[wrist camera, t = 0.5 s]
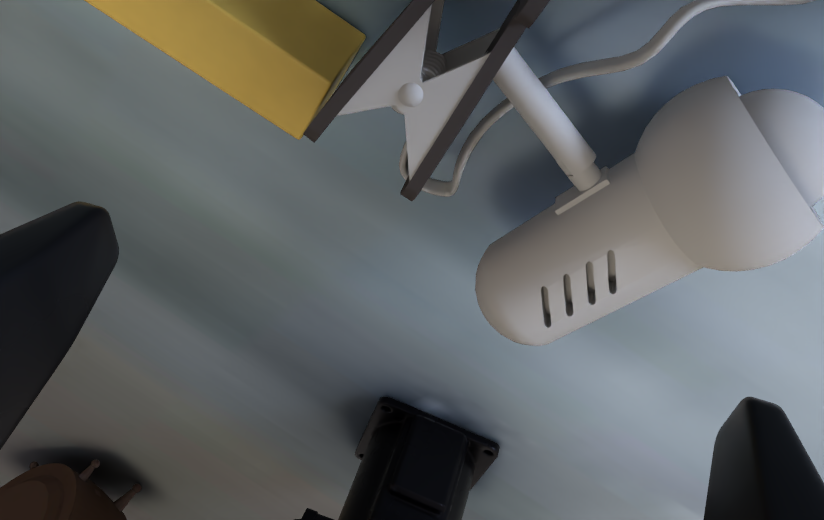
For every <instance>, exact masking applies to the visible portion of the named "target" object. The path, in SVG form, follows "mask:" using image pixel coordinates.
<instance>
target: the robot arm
mask: <svg viewBox="0 0 824 520" xmlns="http://www.w3.org/2000/svg"><path fill="white" fill-rule="evenodd" d="M118 255H119V246H118V242H117V239H116V235H115V232H114V228H113V225H112V221H111V218H110V215H109V213H108V211H107V210H106V209H105V208H103V207H100V206H96V205H93V204H90V203H86V202H74V203H71V204H69V205H67V206H65V207H62V208H60V209H58V210H55V211H53V212H51V213H48V214H46V215H44V216H42V217H39V218H37V219H35V220H32V221H30V222H28V223H26V224H23V225H21V226H19V227H16V228H14V229H12V230H10V231H7V232H5V233H3V234H0V449H1V448H2V447H3V445H4V444H5V442H6V441H7V439H8V438H9V436H10V435H11V434H12V432H13V431H14V429H15V428H16V426H17V425H18V423H19V422H20V421H21V419H22V418H23V416H24V415H25V413H26V412H27V410H28V409H29V407H30V406H31V405H32V403H33V402H34V400H35V399H36V397H37V396H38V394H39V393H40V392H41V390H42V389H43V387H44V386H45V384H46V383H47V381H48V380H49V379H50V377H51V376H52V374H53V373H54V371H55V370H56V368H57V367H58V365H59V364H60V363H61V361H62V360H63V358H64V357H65V355H66V353H67V352H68V350H69V349H70V347H71V346H72V344H73V342H74V340H75V339H76V337H77V335H78V333H79V332H80V330H81V328H82V326H83V324H84V322H85V320H86V319H87V317H88V315H89V313H90V311H91V309H92V307H93V306H94V304H95V302H96V300H97V298H98V296H99V294H100V293H101V291H102V289H103V287H104V285H105V283H106V281H107V280H108V278H109V276H110V274H111V272H112V270H113V268H114V267H115V265H116V262H117V259H118ZM499 449H500V447H499V445H498V444H497V443H495V442H493V441H491V440H489V439H486V438H484V437H482V436H479V435H477V434H475V433H472V432H470V431H467V430H465V429H463V428H460V427H458V426H456V425H453V424H451V423H449V422H446V421H444V420H442V419H439V418H437V417H435V416H432V415H430V414H428V413H425V412H423V411H421V410H418V409H416V408H414V407H411V406H409V405H407V404H404V403H402V402H400V401H397V400H395V399H393V398H390V397H381V398H380V399H379V401H378V403H377V406H376V408H375V410H374V412H373V414H372V416H371V419H370V421H369V423H368V425H367V427H366V429H365V431H364V434H363V436H362V438H361V440H360V442H359V444H358V446H357V449H356V451H355V456H356V457H357V458H358V459H360V460H362V461H361V463H360V466H359V468H358V471H357V473H356V476H355V479H354V481H353V484H352V486H351V489H350V491H349V494H348V496H347V499H346V501H345V504H344V506H343V509H342V511H341V514H340V516H339V519H338V520H462V516H463V513H464V509H465V505H466V502H467V498H468V494H469V491H470V490H471V489H472V487H473V486H474V485H475V484H476V482H477V481H478V480H479V479H480V477H481V476H482V475H483V474H484V473H485V471H486V470H487V469H488V468H489V466H490V465H491V464H492V463H493V461H494V460H495V459H496V458H497V456H498V453H499ZM295 520H334V519H331V518H328V517H325V516H322V515H320V514H318V512H317V511H314V510H312V509H309V508H307V509H306V511H305V513H304V515H303V517H302V519H295ZM704 520H824V483H823V481H822V479H821V477H820V475H819V474H818V472H817V470H816V468H815V466H814V464H813V463H812V461H811V459H810V457H809V455H808V454H807V452H806V450H805V448H804V446H803V445H802V443H801V441H800V439H799V437H798V436H797V434H796V432H795V430H794V428H793V427H792V425H791V423H790V421H789V419H788V418H787V416H786V414H785V412H784V411H783V410H782V408H781V407H779V406H778V405H776V404H774V403H771V402H767V401H764V400H760V399H757V398H754V397H746V398H744V399H743V400H742V401H741V402H740V403H739V404H738V406H737V407H736V408H735V410H734V411H733V412H732V414H731V415H730V416H729V418H728V419H727V420H726V422H725V423H724V424H723V426H722V427H721V429H720V430H719V432H718V434H717V437H716V441H715V445H714V451H713V458H712V465H711V472H710V479H709V486H708V493H707V500H706V507H705V514H704Z"/></svg>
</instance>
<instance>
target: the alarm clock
mask: <svg viewBox="0 0 824 520" xmlns="http://www.w3.org/2000/svg"><path fill="white" fill-rule="evenodd" d="M99 465H100V462H99V460H96V459H95V460H93V461H92V462H91V465H90V466H89V467H88V468H87V469H85V470H84V471H83V472H82V473H81V474H79V473H77V472H75V471H74V470H72V469H71V468H69V467H68V466H66V465H64V464H60V463H51V464H45V465H42V466H39V464H38V463H37V462H32V463H31V464H30V468H31V469H30V470H29V471H27V472H25V473H23V474H21V475H19V476H18V477H16V478H14V479H13V480H11V481H10V482H8V483H7V484H5V485H4V486H2V487H1V488H0V520H127V519H126V517H125V515H124V513H123V512H122V510H123V509H124V508H125V506H126V505H127V504H128V502H129V501H130V500H131V499H132V497H133V496H134V495H135V493H138V492H140V490H141V485H140V484H135V485H133V487H132V489H131V490H130V491H129V492H127V493H126V494H124V495H123V496H122V497H120V498H119V499H118V500H116V501H115V502H113V501H112V500H111V499H110V498H109V497H108V496H107V495H106V494H105V493H104V491H103V490H102V489H100V488H99V487H98V486H97V485H96V484H94V483H93V482H92V481H91V480H89V479H88V478H89V476H90V475H91V473H92V472H93V470H94V469H95V468H97V467H99ZM38 466H39V467H38Z"/></svg>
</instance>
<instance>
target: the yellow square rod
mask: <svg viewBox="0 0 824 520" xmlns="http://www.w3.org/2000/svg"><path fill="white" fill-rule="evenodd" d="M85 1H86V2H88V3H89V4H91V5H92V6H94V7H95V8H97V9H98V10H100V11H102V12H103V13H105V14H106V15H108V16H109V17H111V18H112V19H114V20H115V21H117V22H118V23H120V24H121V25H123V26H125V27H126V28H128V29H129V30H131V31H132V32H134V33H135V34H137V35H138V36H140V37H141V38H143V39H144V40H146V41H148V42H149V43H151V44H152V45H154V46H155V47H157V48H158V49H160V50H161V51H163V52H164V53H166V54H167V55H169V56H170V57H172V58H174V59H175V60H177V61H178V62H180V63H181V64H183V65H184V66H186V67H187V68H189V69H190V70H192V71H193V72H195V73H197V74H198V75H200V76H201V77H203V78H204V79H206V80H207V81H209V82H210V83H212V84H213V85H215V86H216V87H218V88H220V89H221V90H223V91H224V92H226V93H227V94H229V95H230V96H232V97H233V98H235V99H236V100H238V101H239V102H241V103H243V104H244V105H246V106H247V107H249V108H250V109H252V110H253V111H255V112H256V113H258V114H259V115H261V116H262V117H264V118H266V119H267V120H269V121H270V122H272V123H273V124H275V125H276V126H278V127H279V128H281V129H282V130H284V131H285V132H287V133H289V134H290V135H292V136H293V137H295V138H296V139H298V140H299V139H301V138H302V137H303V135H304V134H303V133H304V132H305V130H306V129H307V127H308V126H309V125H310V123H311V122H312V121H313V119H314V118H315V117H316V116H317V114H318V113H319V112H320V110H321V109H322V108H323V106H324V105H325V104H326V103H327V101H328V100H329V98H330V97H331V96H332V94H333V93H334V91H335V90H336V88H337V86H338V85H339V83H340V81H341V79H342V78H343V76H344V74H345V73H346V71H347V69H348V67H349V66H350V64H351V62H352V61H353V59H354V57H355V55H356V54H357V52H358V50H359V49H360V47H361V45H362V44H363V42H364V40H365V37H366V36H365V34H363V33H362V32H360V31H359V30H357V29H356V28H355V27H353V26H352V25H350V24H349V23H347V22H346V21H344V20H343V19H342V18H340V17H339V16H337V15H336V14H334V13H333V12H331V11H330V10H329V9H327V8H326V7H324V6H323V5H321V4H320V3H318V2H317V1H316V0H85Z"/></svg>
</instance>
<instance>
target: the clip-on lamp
mask: <svg viewBox="0 0 824 520" xmlns="http://www.w3.org/2000/svg"><path fill="white" fill-rule="evenodd" d="M549 1H550V0H517V2H516V3H515V5H514V7H513V8H512V10H511V11H510V13H509V15H508V16H507V18H506V19H505V21H504V23H503V24H502V26H501V27H500V28H499V29H497V30H495V31H493V32H490V33H488V34H486V35H484V36H482V37H479V38H477V39H475V40H473V41H471V42H468V43H466V44H464V45H462V46H459V47H457V48H455V49H453V50H451V51H448V52H446V53H444V54H440V53H438V52H436V49H437V43H438V37H439V31H440V25H441V18H442V12H443V6H444V0H412V2H411V3H410V4H409V5H408V6H407V7H406V8H405V9H404V11H403V12H402V13H401V14H400V15H399V16H398V17H397V19H396V20H395V21H394V22H393V23H392V24H391V25H390V27H389V28H388V29H387V30H386V31H385V32H384V33H383V34H382V36H381V37H380V38H379V39H378V40H377V41H376V42H375V44H374V45H373V46H372V47H371V48H370V49H369V50H368V52H367V53H366V54H365V55H364V56H363V57H362V58H361V60H360V61H359V62H358V63H357V64H356V65H355V67H354V68H353V69H352V70H351V72H350V73H349V74H348V75H347V77H346V78H345V79H344V81H343V82H342V83H341V84H340V86H339V87H338V88H337V90H336V91H335V92H334V94H333V95H332V96H331V97H330V99H329V100H328V101H327V103H326V104H325V105H324V106H323V108H322V109H321V110H320V112H319V113H318V114H317V116H316V117H315V118H314V119H313V121H312V122H311V123H310V125H309V126H308V127H307V129H306V130H305V132H304V133H303V134H304V135H305V136H307V137H308V138H309V139H310V140H312V141H313V142H314V143H315V141H316V140H317V139H318V138H319V136H320V135H321V134H322V133H323V132H324V130H325V129H326V128H327V127H328V125H329V124H330V123H331V122H332V120H333V119H334V118H335V117H336V116H340V115H345V114H350V113H356V112H361V111H366V110H372V109H377V108H382V107H388V106H391V107H392V109H393V110H394V111H396V112H397V113H400V114H404V115H405V127H406V142H405V144H404V147H403V150H402V152H401V156H400V162H399V167H400V172H401V175H402V176H403V177H404V179H405V180H406V182H405V184H404V186H403V188H402V190H401V193H400V194H401V195H403V196H404V197H406V198H407V199H409V200H410V201H413V200H414V199H415V198H416V196H417V195H418V194H419V193H420V191H421V190H422V191H424V192H427V193H430V194H433V195H438V196H444V197H448V196H452V195H453V194H454V193H455V192H456V191H457V189H458V186H459V183H460V180H461V177H462V174H463V171H464V168H465V165H466V163H467V161H468V159H469V156H470V154H471V152H472V151H473V149H474V147H475V146H476V144H477V143H478V141H479V140H480V138H481V137H482V136H483V135H484V134H485V132H486V131H487V130H488V129H489V127H491V126H492V125H493V124H494V123H495V122H496V121H497V120H498V119H499V118H500V117H501V116H503V115H504V114H505V113H506V112H508V111H509V110H511V109H512V108H513V107H515V109H516V110H517V111H518V112H519V114H520V115H521V116H522V117H523V119H524V120H525V121H526V123H527V124H528V125H529V126H530V128H531V129H532V130H533V132H534V133H535V134H536V135H537V137H538V138H539V139H540V140H541V142H542V143H543V144H544V146H545V147H546V148H547V149H548V151H549V152H550V153H551V155H552V156H553V157H554V159H555V160H557V161H556V162H557V163H558V165H559V166H560V167H561V169H562V170H563V171H564V172H565V174H566V175H567V176H568V178H569V179H570V180H571V181H572V183H573V184H574V185H575V186H573V187H572V188H570V189H568V190H567V191H565V192H564V193H562V194H560V195H559V196H557V197H556V199H555V204H553V205H552V206H550V207H548V208H547V209H545V210H544V211H542V212H541V213H539V214H537V215H536V216H534V217H533V218H531V219H530V220H528V221H526V222H525V223H523V224H522V225H520V226H519V227H517V228H515V229H514V230H512V231H511V232H509V233H508V234H506V235H504V236H503V237H501V238H500V239H498V240H497V241H495V242H493V243H492V244H490V245H489V247H488V248H487V250H486V251H485V253H484V255H483V256H482V258H481V261H480V263H479V265H478V268H477V272H476V286H475V290H476V295H477V300H478V304H479V307H480V309H481V311H482V313H483V315H484V317H485V318H486V320H487V321H488V322H489V324H490V325H491V326H492V327H493V328H494V329H495V330H497V331H498V332H499V333H500V334H501V335H503V336H505V337H507V338H508V339H510V340H512V341H514V342H517V343H520V344H524V345H532V346H541V345H546V344H549V343H551V342H553V341H555V340H557V339H559V338H561V337H563V336H565V335H567V334H569V333H571V332H573V331H575V330H577V329H579V328H581V327H583V326H585V325H587V324H589V323H591V322H594V321H596V320H598V319H600V318H602V317H604V316H606V315H608V314H610V313H612V312H614V311H616V310H618V309H620V308H622V307H624V306H626V305H628V304H630V303H632V302H634V301H636V300H638V299H640V298H642V297H644V296H646V295H648V294H650V293H652V292H654V291H656V290H658V289H660V288H662V287H664V286H666V285H668V284H670V283H672V282H675V281H677V280H679V279H681V278H683V277H685V276H687V275H689V274H691V273H693V272H695V271H697V270H699V269H701V268H703V267H705V268H710V269H715V270H720V271H745V270H754V269H758V268H762V267H766V266H770V265H772V264H775V263H777V262H780V261H782V260H785V259H786V258H788V257H790V256H791V255H793V254H795V253H797V252H798V251H800V250H801V249H802V248H804V247H805V246H806V245H807V244H809V243H810V242H811V241H812V240H813V239H814V238H815V237H816V236H817V235H818V234H819V233H820V232H821V231H822V229H823V228H824V225H823V223H822V221H821V220H820V218H819V216H818V214H817V213H816V211H815V209H814V208H813V205H815V204H816V203H817V202H818V201H819V200H820V199H822V197H823V196H824V108H823V107H822V106H821V105H820V104H818V103H817V102H816V101H814V100H812V99H811V98H809V97H807V96H805V95H803V94H800V93H798V92H794V91H789V90H784V89H762V90H758V91H753V92H749V93H747V94H744V95H741V94H740V92H739V91H738V89H737V88H736V86H735V85H734V84H733V82H732V81H731V80H730V78H729V77H728V76H723V77H718V78H713V79H709V80H707V81H704V82H701V83H699V84H696V85H694V86H692V87H690V88H688V89H686V90H684V91H683V92H681V93H679V94H678V95H677V96H675V97H674V98H673V99H671V100H670V101H669V102H667V103H666V104H665V105H664V106H663V107H662V108H661V109H660V110H659V111H658V112H657V113H656V114H655V116H654V117H653V118H652V120H651V121H650V122H649V124H648V125H647V126H646V128H645V130H644V132H643V134H642V136H641V138H640V140H639V143H638V146H637V149H636V152H635V153H633V154H632V155H630V156H629V157H627V158H626V159H624V160H622V161H621V162H619V163H618V164H616V165H615V166H613V167H611V168H610V169H608V168H607V166H605V167H603V168H602V169H600V170H599V168H598V167H597V166H596V164H595V163H594V160H595V158H596V154H595V153H594V151H593V150H592V149H591V148H590V146H589V145H588V144H587V142H586V141H585V140H584V138H583V137H582V136H581V134H580V133H579V132H578V130H577V129H576V128H575V126H574V125H573V124H572V122H571V121H570V120H569V119H568V117H567V116H566V115H565V113H564V112H563V111H562V109H561V108H560V107H559V105H558V104H557V103H556V101H555V100H554V99H553V97H552V96H551V95H550V94H549V92H548V91H547V90H546V89H547V88H549V87H552V86H554V85H557V84H559V83H562V82H566V81H570V80H575V79H579V78H583V77H589V76H596V75H602V74H608V73H614V72H620V71H625V70H628V69H631V68H634V67H637V66H640V65H642V64H644V63H645V62H646V61H648V60H649V59H651V58H652V57H654V56H655V55H657V53H658V52H659V51H660V50H661V49H662V48H663V47H664V46H665V45H666V44H667V43H668V42H669V41H670V40H671V39H672V37H673V36H674V35H675V34H676V33H677V32H678V30H679V29H680V28H681V27H682V26H683V25H684V24H685V23H686V22H687V21H689V20H690V19H691V18H692V17H694V16H695V15H697V14H699V13H701V12H703V11H705V10H709V9H713V8H717V7H722V6H734V5H793V4H804V3H807V2H811V1H814V0H695V1H693V2H691V3H689V4H687V5H685V6H683V7H681V8H680V9H679V10H678V11H677V12H676V13H675V14H674V15H672V16H671V17H670V18H669V19H668V21H667V22H666V23H665V24H664V25H663V27H662V28H661V29H660V30H659V31H658V32H657V33H656V35H655V36H654V37H653V38H652V39H651V40H650V41H649V42H648V43H647V44H645V45H644V46H642V47H641V48H640V49H638V50H637V51H635V52H632V53H629V54H626V55H623V56H619V57H613V58H607V59H601V60H596V61H590V62H584V63H579V64H575V65H572V66H568V67H564V68H561V69H558V70H556V71H553V72H551V73H549V74H547V75H544V76H542V77H540V78H537V76H536V75H535V74H534V72H533V71H532V70H531V69H530V67H529V66H528V65H527V63H526V62H525V61H524V59H523V58H522V57H521V55H520V54H519V53H518V51H517V50H516V49H515V47H514V46H515V44H516V43H517V41H518V40H519V38H520V37H521V35H522V33H523V32H524V30H525V29H526V27H527V28H530V26H531V25H532V24H533V23H534V21H535V20H536V19H537V17H538V16H539V15H540V13H541V12H542V10H543V9H544V8H545V6H546V5H547V3H548V2H549ZM492 80H494V82H495V83H496V84H497V86H498V87H499V88H500V89H501V91H502V92H503V93H504V94H505V96H506V97H507V98H506V99H505V100H504V101H502V102H501V103H500V104H498V105H497V106H496V107H495V108H494V109H493V110H492V111H490V112H489V113H488V114H487V115H486V116H485V117H484V118H483V119H482V120H481V121H480V122H479V124H478V125H477V126H476V127H475V128H474V130H473V131H472V132H471V133H470V135H469V137H468V138H467V140H466V141H465V143H464V145H463V146H462V149H461V151H460V153H459V155H458V158H457V161H456V164H455V168H454V173H453V180H452V181H440V180H436V179H432V178H429V177H430V176H431V174H432V173H433V171H434V170H435V168H436V167H437V165H438V164H439V162H440V161H441V159H442V158H443V156H444V154H445V153H446V151H447V150H448V148H449V147H450V145H451V144H452V142H453V141H454V139H455V138H456V136H457V134H458V133H459V131H460V130H461V128H462V127H463V125H464V124H465V122H466V120H467V119H468V117H469V116H470V114H471V113H472V111H473V110H474V108H475V106H476V105H477V103H478V102H479V100H480V99H481V97H482V96H483V94H484V92H485V91H486V89H487V88H488V86H489V85H490V83H491V82H492Z"/></svg>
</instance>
